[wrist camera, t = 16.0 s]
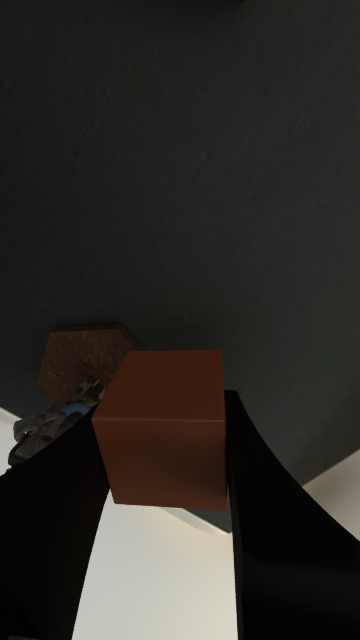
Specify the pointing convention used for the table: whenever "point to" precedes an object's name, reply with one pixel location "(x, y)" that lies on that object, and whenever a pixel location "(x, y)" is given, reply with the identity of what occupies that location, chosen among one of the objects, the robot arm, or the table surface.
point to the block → (165, 430)
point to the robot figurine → (72, 381)
